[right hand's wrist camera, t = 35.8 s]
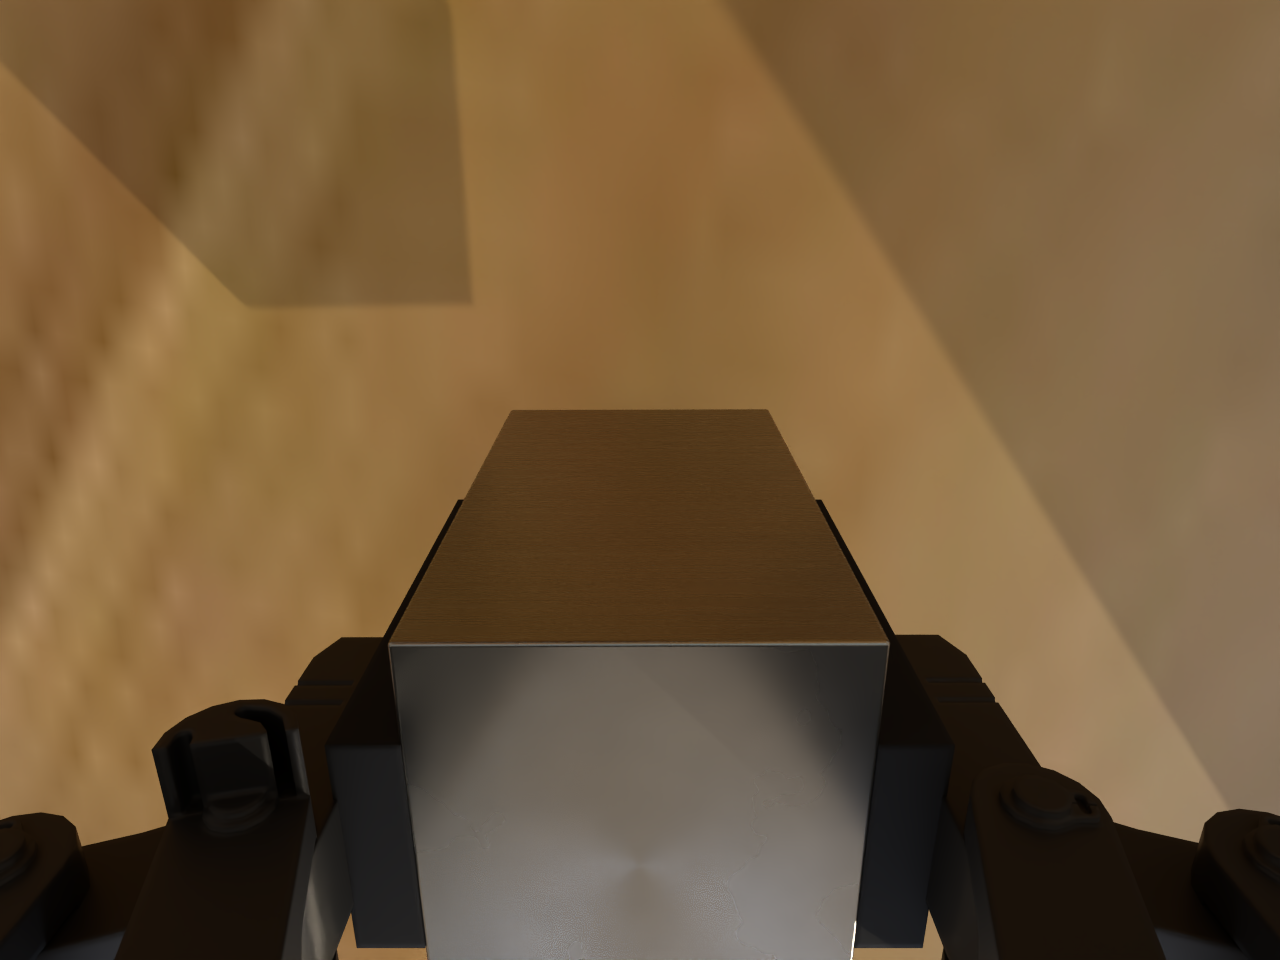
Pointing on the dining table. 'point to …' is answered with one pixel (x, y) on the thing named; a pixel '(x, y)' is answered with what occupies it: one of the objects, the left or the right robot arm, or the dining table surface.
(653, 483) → the brick
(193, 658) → the dining table surface
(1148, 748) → the dining table surface
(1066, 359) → the dining table surface
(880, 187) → the dining table surface
